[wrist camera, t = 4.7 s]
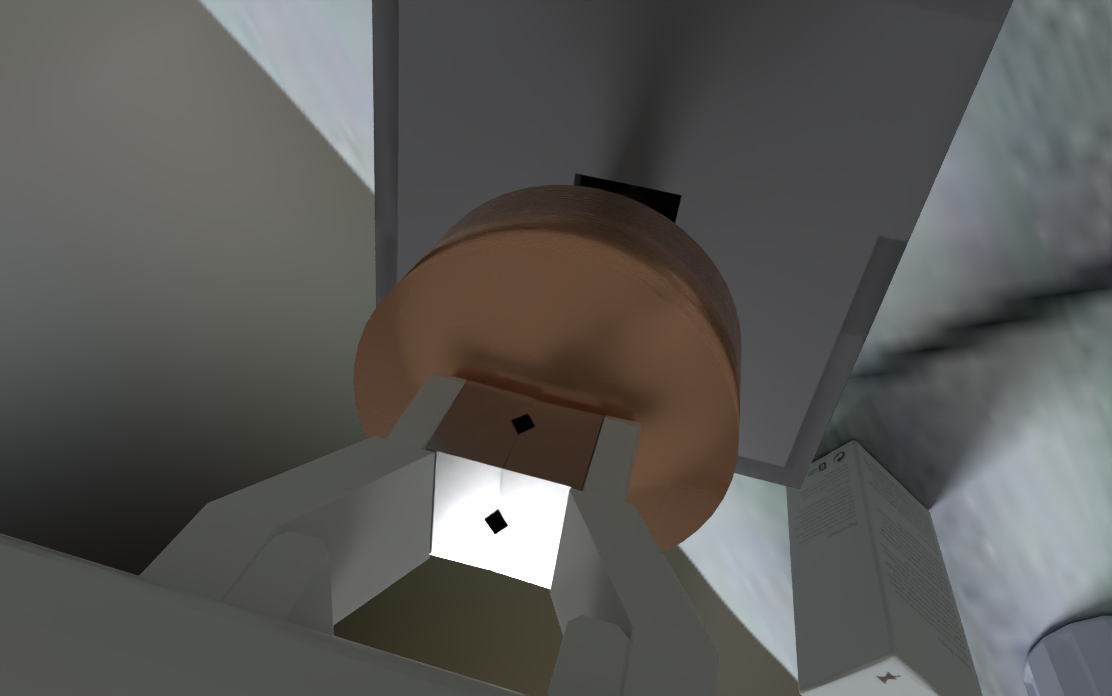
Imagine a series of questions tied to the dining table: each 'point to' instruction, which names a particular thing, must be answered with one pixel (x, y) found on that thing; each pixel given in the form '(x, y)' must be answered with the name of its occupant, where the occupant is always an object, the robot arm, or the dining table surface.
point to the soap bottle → (1072, 661)
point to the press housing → (695, 152)
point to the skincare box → (871, 587)
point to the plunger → (577, 332)
